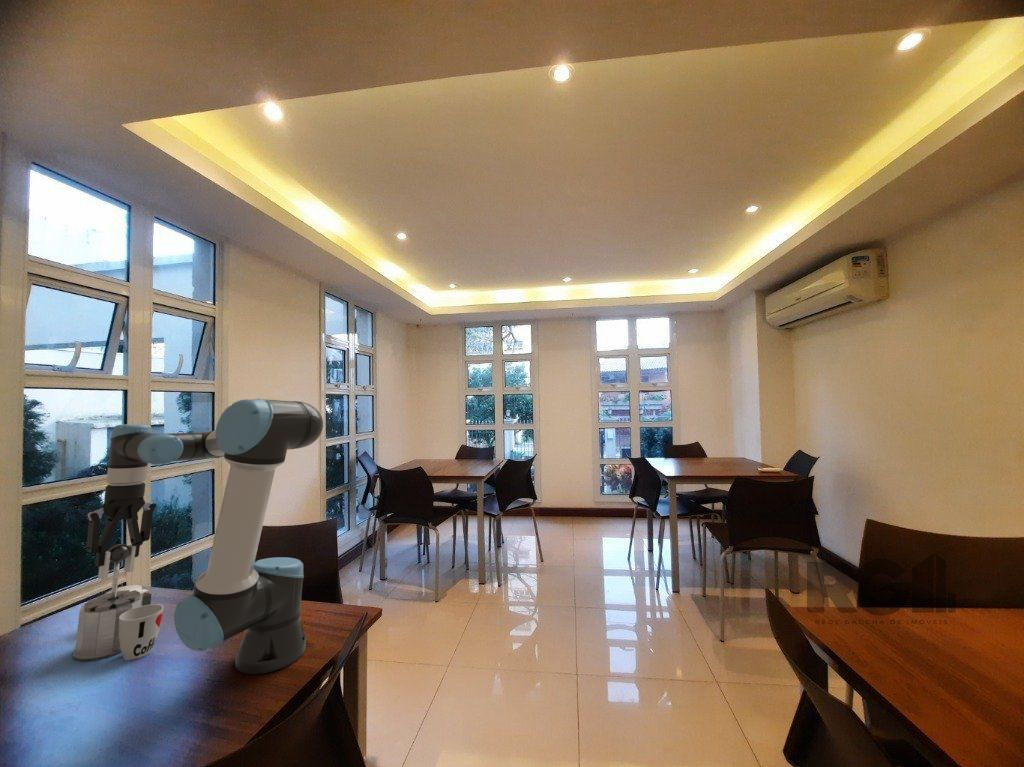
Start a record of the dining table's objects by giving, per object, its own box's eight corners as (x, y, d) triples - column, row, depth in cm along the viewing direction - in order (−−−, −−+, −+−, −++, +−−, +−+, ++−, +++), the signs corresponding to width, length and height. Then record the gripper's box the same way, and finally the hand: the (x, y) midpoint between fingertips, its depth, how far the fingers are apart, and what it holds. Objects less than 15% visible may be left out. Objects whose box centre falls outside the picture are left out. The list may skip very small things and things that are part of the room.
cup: (131, 666, 93) (136, 622, 93) (105, 661, 94) (110, 617, 95) (167, 646, 101) (171, 606, 101) (143, 642, 102) (147, 602, 103)
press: (157, 637, 104) (162, 591, 105) (87, 666, 92) (93, 614, 93) (132, 626, 109) (137, 582, 110) (62, 653, 96) (68, 603, 97)
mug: (150, 618, 114) (154, 586, 115) (109, 633, 105) (113, 599, 106) (136, 612, 117) (139, 581, 117) (94, 627, 108) (98, 593, 109)
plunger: (140, 620, 103) (149, 542, 104) (96, 637, 95) (106, 552, 96) (122, 613, 106) (131, 537, 107) (78, 629, 98) (88, 546, 100)
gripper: (158, 477, 113) (149, 560, 111) (72, 486, 97) (60, 584, 95) (173, 479, 110) (164, 565, 108) (88, 489, 94) (76, 590, 92)
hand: (116, 574), depth 101 cm, fingers closed on plunger, 4 cm apart
